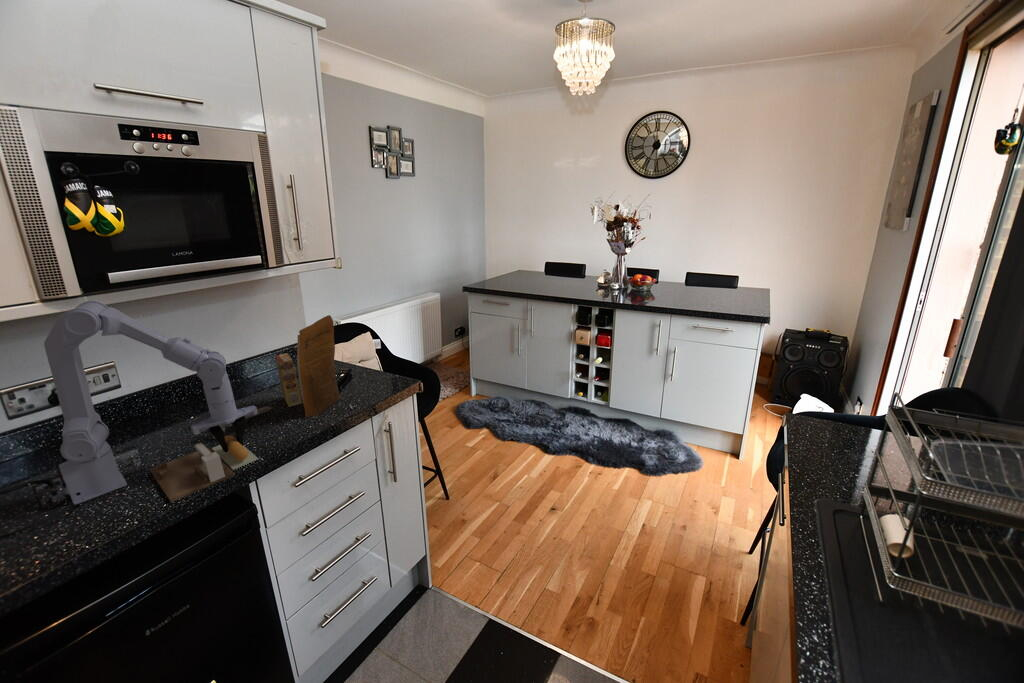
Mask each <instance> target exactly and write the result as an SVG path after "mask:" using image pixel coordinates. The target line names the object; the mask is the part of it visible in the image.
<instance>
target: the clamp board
mask: <svg viewBox="0 0 1024 683" xmlns="http://www.w3.org/2000/svg"><path fill="white" fill-rule="evenodd" d="M206 448H207V449H208V450H209V451H210V452H211V453H213V452H214V451H213V450H212V448H210V447H206ZM201 457H203V456H202V455H201V454H200V453H199V452H198V451H197V450H196V451H195V452H192V453H190V454H186V455H184V456H181V457H178V458H176V459H173V460H170V461H167V462H165V463H161V464H159V465H157V466H154V467H152V468H149V472H150V473H151V475H152V476H153V478H154V479H155V481H156V482H157V484H158V486H160V488H161V490H162V491H163V493H164V494H165V495H166V498H167V499H168V500H169V502H170V503H173V502H175V501H177V500H179V499H182V498H185V497H187V496H189V495H192V494H194V493H196V492H199V491H201V490H203V489H206V488H208V487H210V485H211V486H213V485H216V484H217V483H220V482H222V481H225V480H227V479H229V478H232V477H234V476H235V472H234V471H233V470H232V469H231V468H230V467H229V466H228V465H227V464H226V463H225V462H224V461H223V460H222V459H221V463H222V467H223V470H224V474H225V477H223V478H221V479H218V480H216V481H214V482H210V481H209V480H208V479H207V475H206V473H205V469H204V466H203V462H202V459H201Z"/></svg>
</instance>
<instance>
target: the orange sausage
mask: <svg viewBox="0 0 1024 683" xmlns="http://www.w3.org/2000/svg"><path fill="white" fill-rule="evenodd" d="M224 437H225V442H226V445H227V447H228V451H229V452H230V453H231V454H232V455H233V456H234V457H235V458H236V459H237V460H244V459H246V458H247V456H248V451H247V450H246V449H245V448H244V447H243V446H244V445H243V446H242V445H241V444H240V443H239V442H238V441H237V440H236V437H234V436H233V435H224Z"/></svg>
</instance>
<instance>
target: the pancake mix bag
mask: <svg viewBox="0 0 1024 683" xmlns="http://www.w3.org/2000/svg"><path fill="white" fill-rule="evenodd" d="M333 320H334V319H333V318H332V316H331V315H325V316H324V317H322V318H320V319H318V320H316V321H315V322H314V323H312V324H310V325H308V326H306V327H304V328H302V329H300V330H298V333H299V334H297V343H296V344H297V346H296V347H297V351H296V352H297V354H296V355H297V357H296V358H297V370H298V377H299V378H298V379H299V385H300V389H301V397H302V398H301V399H302V401H303V402H302V403H303V407H304V411H305V412H304V414H305V418H309V417H314V416H318V415H320V414H322V413H323V412H325V411H326V410H327V409H329V408H330V407H332V406H333V405H334V404H336V403H338V402H339V401H341V394H340V392H339V387H338V386H339V385H338V382H337V374H336V367H335V365H336V364H335V356H336V355H335V354H336V345H335V344H336V343H335V326H334V321H333Z"/></svg>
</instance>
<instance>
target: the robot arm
mask: <svg viewBox="0 0 1024 683" xmlns="http://www.w3.org/2000/svg"><path fill="white" fill-rule="evenodd" d="M53 324H54V325H53V326H52V328H51V330H50V331H49V332H48V335H47V337H45V339H44V342H43V343H44V349H45V354H46V357H47V361H48V365H49V369H50V372H51V376H52V380H53V383H54V387H55V391H56V394H57V398H58V401H59V406H60V409H61V412H62V417H63V426H62V432H61V435H62V443H61V445H60V454H61V455H62V457H63V458H64V459H66V461H65V462H63V463H59V464H58V467H59V470H60V472H61V473H60V474H61V475H62V476H61V477H62V478H63V481H64V484H65V491H66V494H67V495H68V496H70V498H71V501H72V504H73V505H75V506H76V505H78V504H82V503H84V502H87V501H90V500H92V499H94V498H97V497H100V496H102V495H105V494H108V493H110V492H113V491H115V490H119V489H121V488H123V487H126V486H128V483H127V481H126V479H125V477H124V476H123V474H122V472H120V471H119V467H118V465H117V461H116V459H115V456H114V455H115V454H114V453H113V451H112V448H111V445H110V444H109V443H108V442H107V439H108V437H109V435H110V429H109V427H108V426H107V425H106V424H105V423H104V421H102V419H101V415H100V414H99V413H98V412H96V411H95V408H94V403H93V399H92V396H91V391H90V387H89V384H88V383H89V382H88V379H87V374H86V371H85V368H84V363H83V359H82V355H81V351H80V345H81V344H82V343H83V342H84V341H85V340H87V339H89V338H91V337H93V336H95V335H96V334H97V333H98V332H99V331H102V332H101V337H106V336H115V335H116V336H117V335H123V336H125V337H128V338H130V339H132V340H134V341H137V342H140V343H142V344H144V345H147V346H149V347H152V348H154V349H156V350H158V351H160V352H161V355H162V357H163V358H164V359H165V360H168V361H170V362H171V363H174V364H176V365H178V366H180V367H182V368H185V369H187V370H189V371H192V372H196V376H197V377H198V378H199V379H200V380H201V381H202V384H203V386H202V388H203V392H204V396H205V400H206V403H207V407H208V411H209V414H210V417H209V418H207V419H204V420H202V421H200V422H198V423H196V424H192V425H190V427H191V431H192V434H193V435H194V436H196V435H199V434H201V433H202V432H206V431H209V433H210V434H211V435H212V437H213V436H214V437H215V438H216V439H215V440H217V443H219V444H218V445H221V447H222V449H223V451H224V452H225V453H226V452H228V447H227V445H226V442H225V432H224V431H223V430H222V429H221V427H220V425H223V424H229V423H232V425H233V426H232V427H233V430H234V435H235V439H236V440H237V441H238V442H239V443H240V444H241V445H242V446H244V436H245V435H244V434H245V430H246V427H247V425H248V420H247V419H245V417H246V416H249V415H252V414H253V415H255V414H258V412H257V409H258V408H257V406H255V405H254V404H253V405H250V406H246V407H242V408H237V405H236V402H235V397H234V393H233V388H232V385H231V381H230V378H229V375H228V373H227V370H226V367H227V361H226V358H225V357H224V355H222V354H220V352H218V351H215V350H214V351H212V350H211V349H209V348H207V349H205V348H203V347H201V346H198V345H197V344H194V343H193V342H191V341H192V339H191V338H188V337H184V338H182V337H179V336H176V337H168V336H167V335H164V334H163V333H160V332H159V331H157V330H155V329H153V328H151V327H149V326H147V325H146V324H144V323H141V322H139V320H136V319H134V318H133V317H130V316H129V315H127V314H126V313H124V312H122V311H120V310H118V309H117V308H115V307H111V306H110V307H108V305H106V304H104V303H102V302H100V301H95V300H90V301H88V300H87V301H84V302H82V303H80V304H79V305H77V306H76V307H74V308H72V309H69V310H67V311H66V312H65V313H63V314H62V315H59V317H57V318H56V319H55V320H54V323H53Z"/></svg>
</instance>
